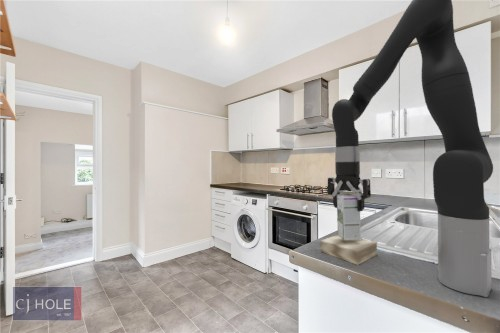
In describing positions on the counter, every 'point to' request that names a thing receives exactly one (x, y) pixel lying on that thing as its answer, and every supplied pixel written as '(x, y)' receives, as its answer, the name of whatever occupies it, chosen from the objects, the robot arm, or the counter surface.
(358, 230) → the syrup box
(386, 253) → the counter surface
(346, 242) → the beige flat block
